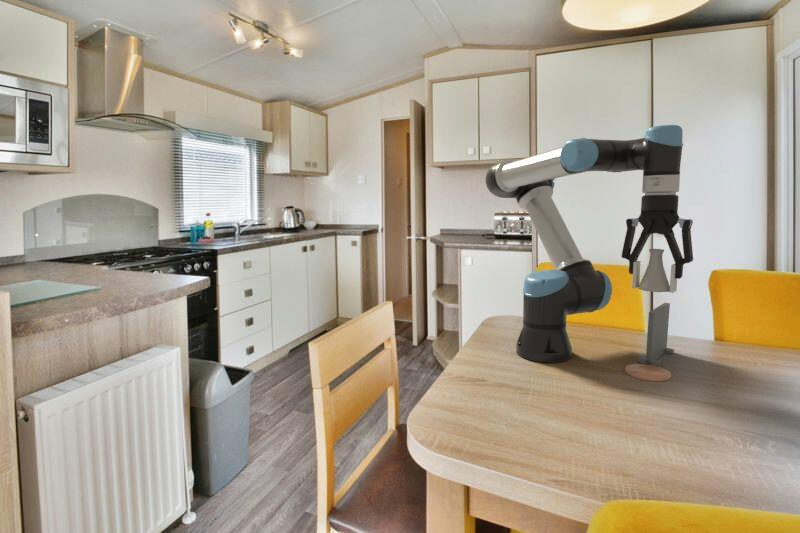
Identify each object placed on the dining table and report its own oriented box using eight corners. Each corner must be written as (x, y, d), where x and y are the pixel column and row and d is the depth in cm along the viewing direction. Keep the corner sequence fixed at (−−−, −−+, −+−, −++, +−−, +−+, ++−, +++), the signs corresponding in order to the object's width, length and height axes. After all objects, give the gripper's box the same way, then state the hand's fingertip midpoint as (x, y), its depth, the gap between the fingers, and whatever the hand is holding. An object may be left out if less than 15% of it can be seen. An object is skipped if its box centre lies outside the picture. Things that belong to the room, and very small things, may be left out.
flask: (642, 292, 105) (645, 251, 104) (633, 286, 112) (635, 247, 111) (676, 293, 104) (679, 251, 102) (664, 287, 111) (667, 247, 109)
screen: (637, 361, 119) (641, 310, 117) (654, 348, 129) (657, 301, 127) (658, 366, 116) (662, 314, 113) (673, 352, 125) (677, 304, 123)
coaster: (619, 373, 111) (619, 371, 111) (633, 363, 118) (633, 361, 118) (663, 385, 104) (664, 382, 104) (676, 373, 111) (676, 370, 111)
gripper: (609, 195, 109) (604, 286, 112) (707, 193, 94) (699, 298, 98) (620, 195, 114) (615, 282, 117) (715, 193, 100) (707, 292, 103)
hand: (653, 289), depth 108 cm, fingers closed on flask, 7 cm apart
